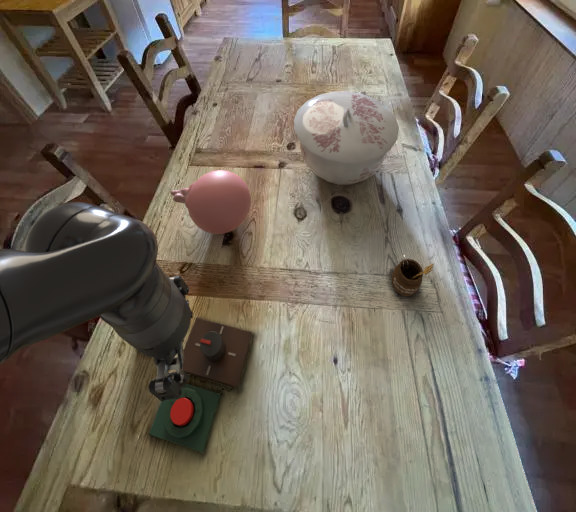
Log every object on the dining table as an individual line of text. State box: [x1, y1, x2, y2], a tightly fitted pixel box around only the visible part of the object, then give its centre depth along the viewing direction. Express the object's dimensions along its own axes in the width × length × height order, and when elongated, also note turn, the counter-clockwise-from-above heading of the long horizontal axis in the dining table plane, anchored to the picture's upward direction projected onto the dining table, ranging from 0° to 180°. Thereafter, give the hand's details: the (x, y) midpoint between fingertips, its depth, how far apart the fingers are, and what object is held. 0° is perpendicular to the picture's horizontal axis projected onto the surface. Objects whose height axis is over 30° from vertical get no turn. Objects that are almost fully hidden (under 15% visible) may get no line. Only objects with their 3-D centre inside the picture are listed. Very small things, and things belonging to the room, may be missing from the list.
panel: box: [183, 317, 254, 390], centre depth 67 cm, size 12×9×3 cm
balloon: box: [170, 169, 252, 235], centre depth 85 cm, size 15×20×15 cm
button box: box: [148, 383, 222, 454], centre depth 60 cm, size 10×8×3 cm
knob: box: [200, 331, 226, 362], centre depth 64 cm, size 4×4×5 cm
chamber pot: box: [293, 89, 400, 186], centre depth 95 cm, size 28×28×21 cm
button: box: [170, 398, 194, 426], centre depth 59 cm, size 4×4×2 cm
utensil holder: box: [390, 253, 435, 297], centre depth 72 cm, size 6×6×12 cm
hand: (184, 347), depth 53 cm, fingers open, 8 cm apart
